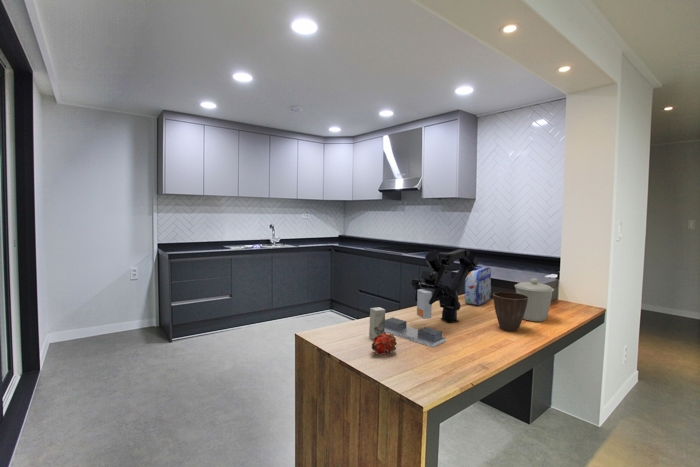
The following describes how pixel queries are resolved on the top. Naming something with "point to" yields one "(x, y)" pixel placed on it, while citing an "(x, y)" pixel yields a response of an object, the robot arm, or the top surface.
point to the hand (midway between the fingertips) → (422, 302)
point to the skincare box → (424, 303)
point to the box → (376, 322)
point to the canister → (535, 299)
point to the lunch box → (478, 286)
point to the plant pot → (509, 309)
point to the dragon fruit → (384, 343)
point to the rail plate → (414, 332)
